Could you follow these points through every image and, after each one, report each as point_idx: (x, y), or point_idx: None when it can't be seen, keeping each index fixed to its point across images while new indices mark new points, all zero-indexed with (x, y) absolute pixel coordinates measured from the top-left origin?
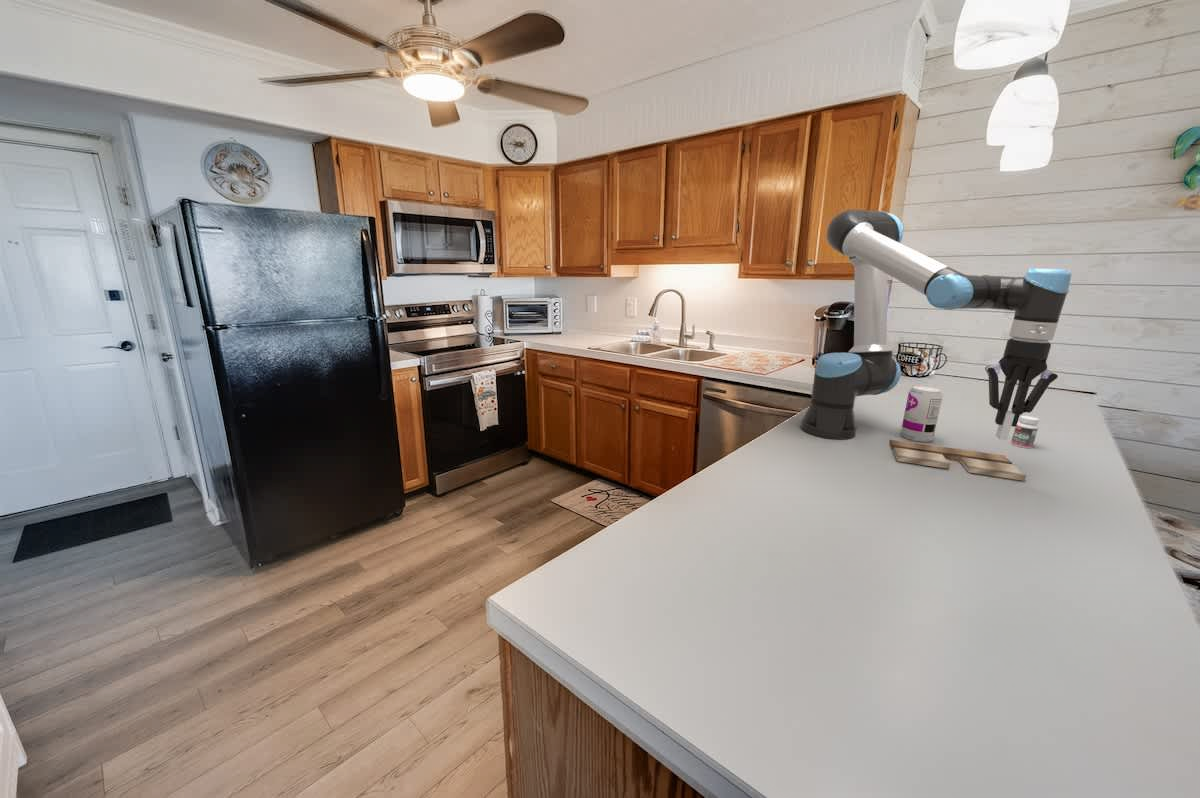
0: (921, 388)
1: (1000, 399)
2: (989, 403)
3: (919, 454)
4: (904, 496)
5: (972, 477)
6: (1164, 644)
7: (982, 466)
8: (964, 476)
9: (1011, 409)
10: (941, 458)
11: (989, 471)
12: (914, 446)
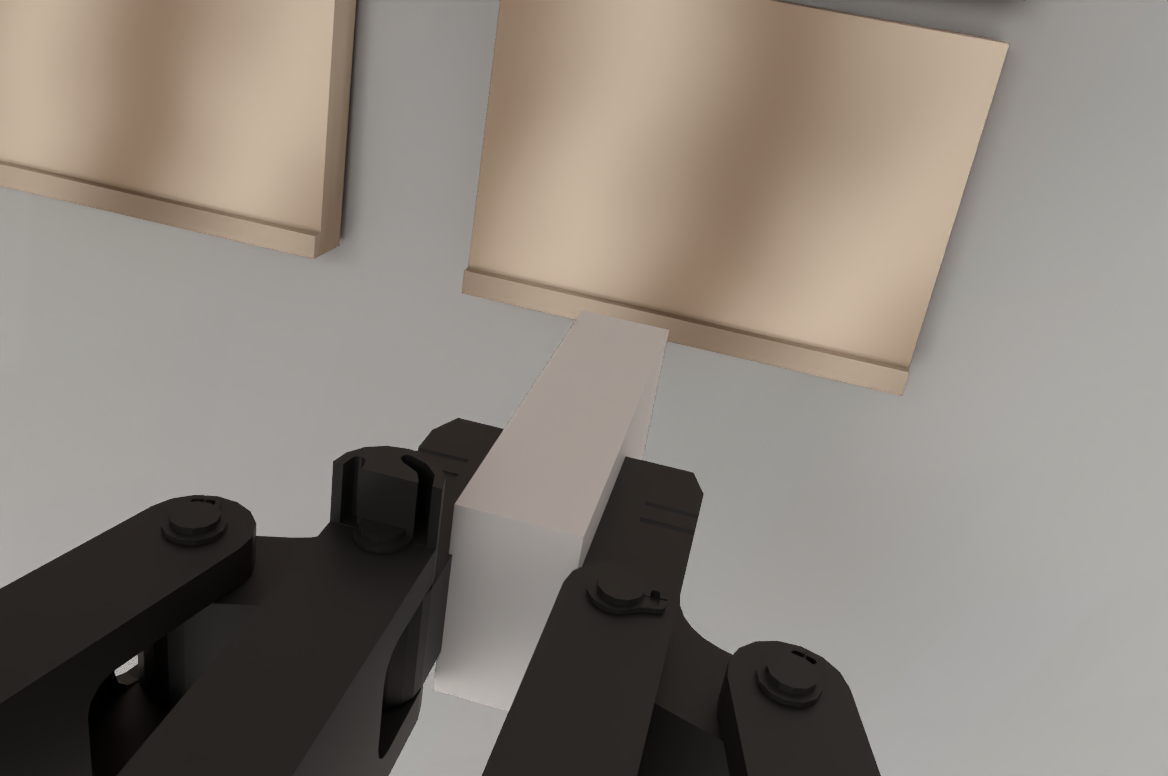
0: None
1: (240, 648)
2: (145, 513)
3: (120, 28)
4: None
5: (484, 361)
6: None
7: (606, 219)
8: (427, 354)
9: (572, 573)
10: (292, 92)
11: None
12: None
